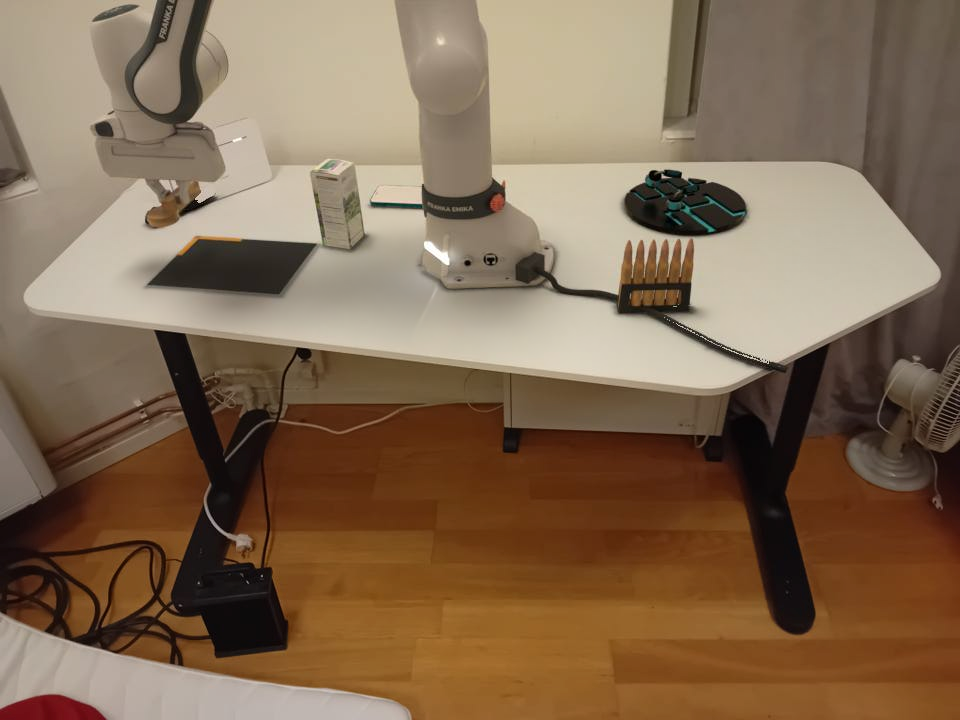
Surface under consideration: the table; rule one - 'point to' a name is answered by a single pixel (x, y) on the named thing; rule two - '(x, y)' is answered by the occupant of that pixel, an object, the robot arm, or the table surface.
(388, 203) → the smartphone
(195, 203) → the electric trimmer
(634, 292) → the ammunition clip
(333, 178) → the syrup box
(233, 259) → the mat
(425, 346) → the table surface
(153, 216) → the orange wooden ladle
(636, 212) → the platform
